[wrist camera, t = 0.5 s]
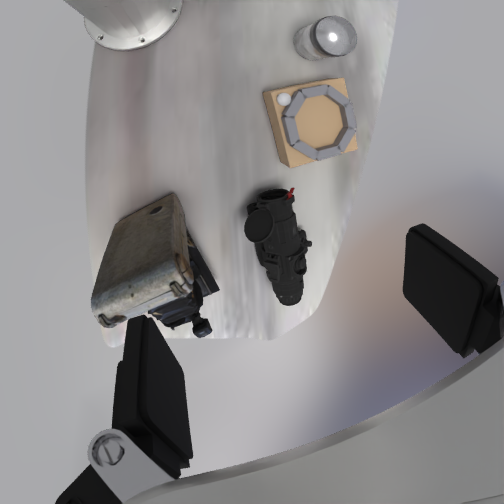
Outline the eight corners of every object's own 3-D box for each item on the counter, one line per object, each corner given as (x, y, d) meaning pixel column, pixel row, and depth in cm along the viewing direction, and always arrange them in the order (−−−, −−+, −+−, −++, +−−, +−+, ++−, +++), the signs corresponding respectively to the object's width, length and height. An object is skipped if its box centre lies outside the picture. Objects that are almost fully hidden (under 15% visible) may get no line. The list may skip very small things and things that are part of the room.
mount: (262, 92, 37) (274, 92, 32) (330, 78, 37) (349, 77, 32) (280, 161, 42) (294, 170, 37) (343, 144, 42) (363, 151, 38)
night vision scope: (281, 276, 54) (246, 311, 48) (263, 176, 45) (217, 203, 39) (322, 286, 49) (289, 326, 43) (311, 179, 40) (269, 208, 34)
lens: (288, 29, 33) (312, 16, 26) (323, 25, 33) (351, 14, 26) (298, 63, 36) (323, 58, 29) (332, 58, 36) (362, 53, 29)
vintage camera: (165, 297, 49) (173, 401, 32) (113, 219, 40) (84, 312, 23) (219, 272, 49) (250, 371, 32) (174, 187, 40) (180, 265, 24)
